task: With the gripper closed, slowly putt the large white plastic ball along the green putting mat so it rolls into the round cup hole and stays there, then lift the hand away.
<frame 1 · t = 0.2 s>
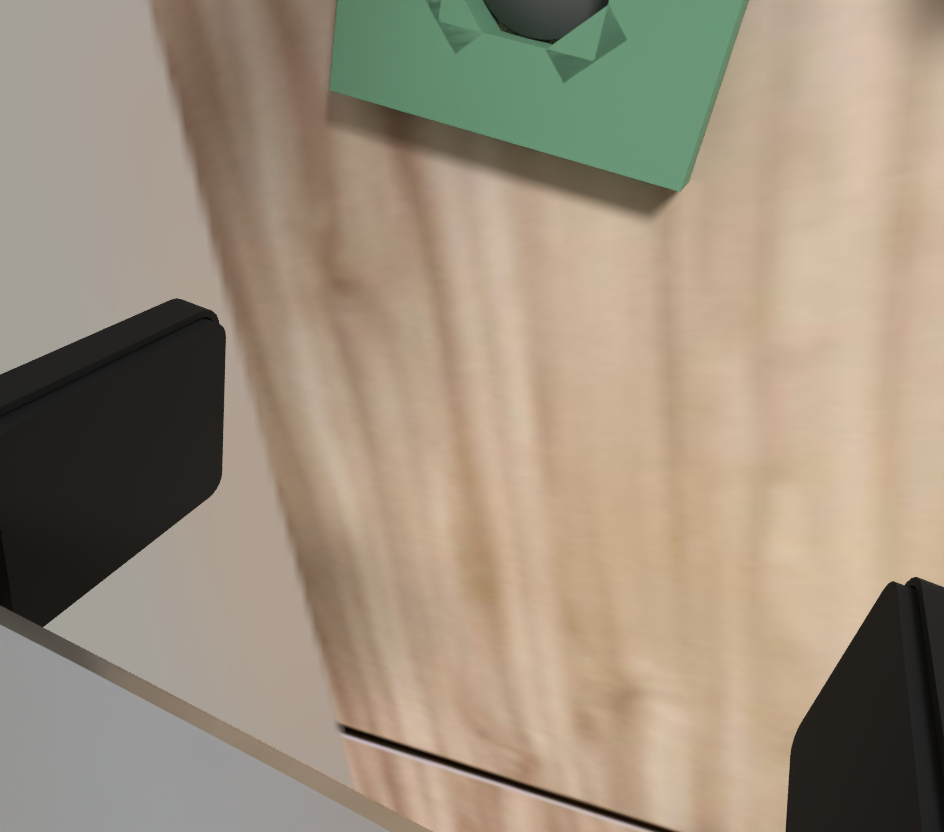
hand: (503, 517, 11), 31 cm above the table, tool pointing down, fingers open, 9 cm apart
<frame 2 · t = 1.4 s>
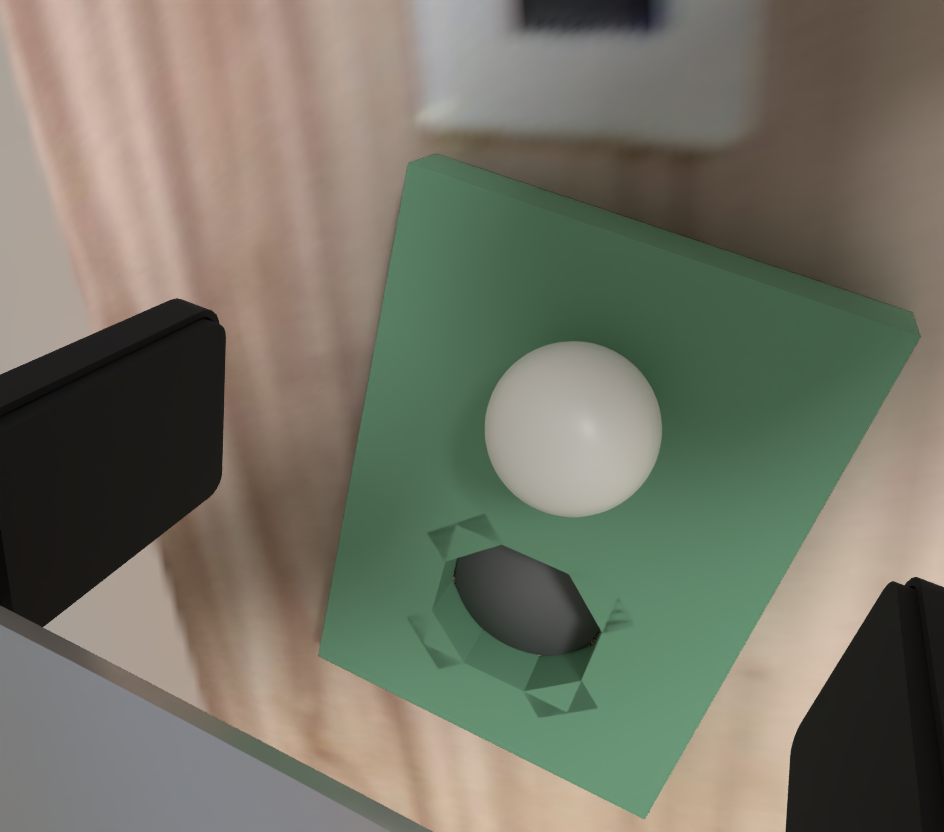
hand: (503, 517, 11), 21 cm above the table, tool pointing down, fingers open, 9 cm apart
putting mat: (559, 506, 35), on the table
ball: (572, 429, 27), point 5 cm above the table, touching putting mat
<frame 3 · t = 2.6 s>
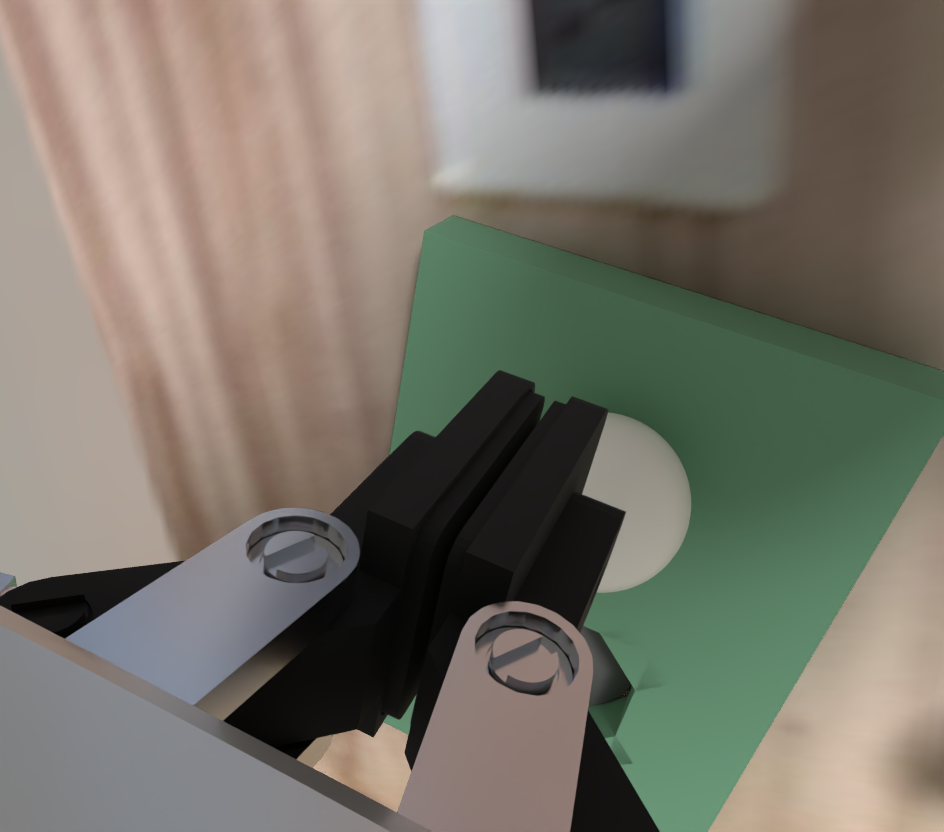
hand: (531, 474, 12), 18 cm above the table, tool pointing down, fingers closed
putting mat: (588, 561, 35), on the table
ball: (598, 501, 27), point 5 cm above the table, touching putting mat
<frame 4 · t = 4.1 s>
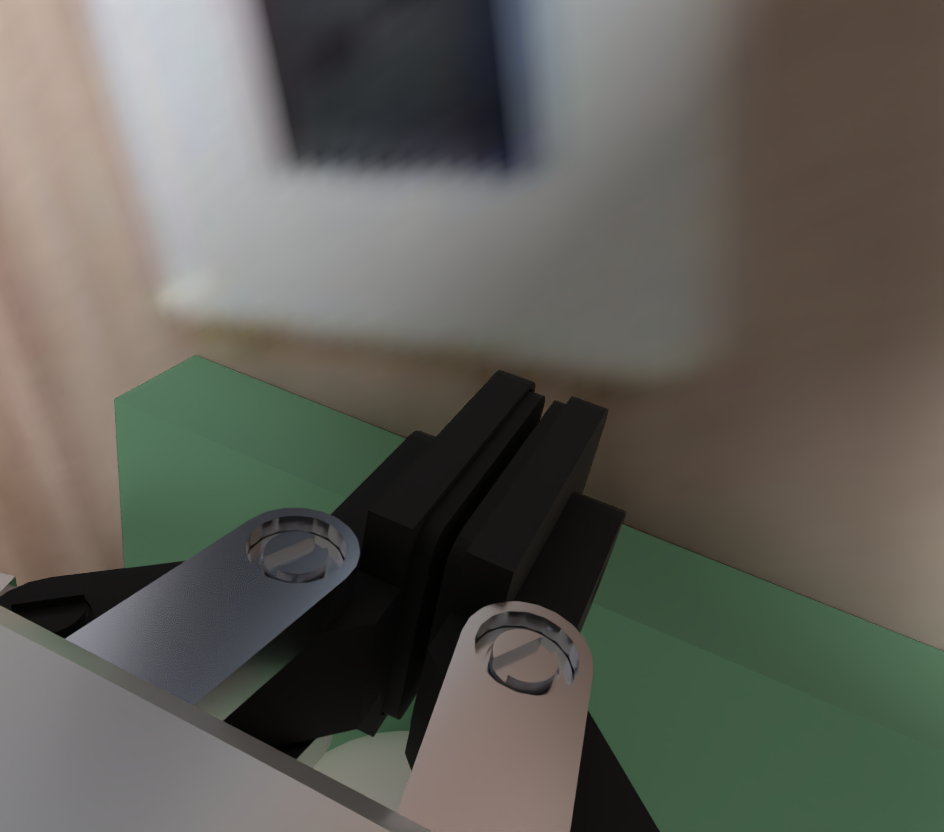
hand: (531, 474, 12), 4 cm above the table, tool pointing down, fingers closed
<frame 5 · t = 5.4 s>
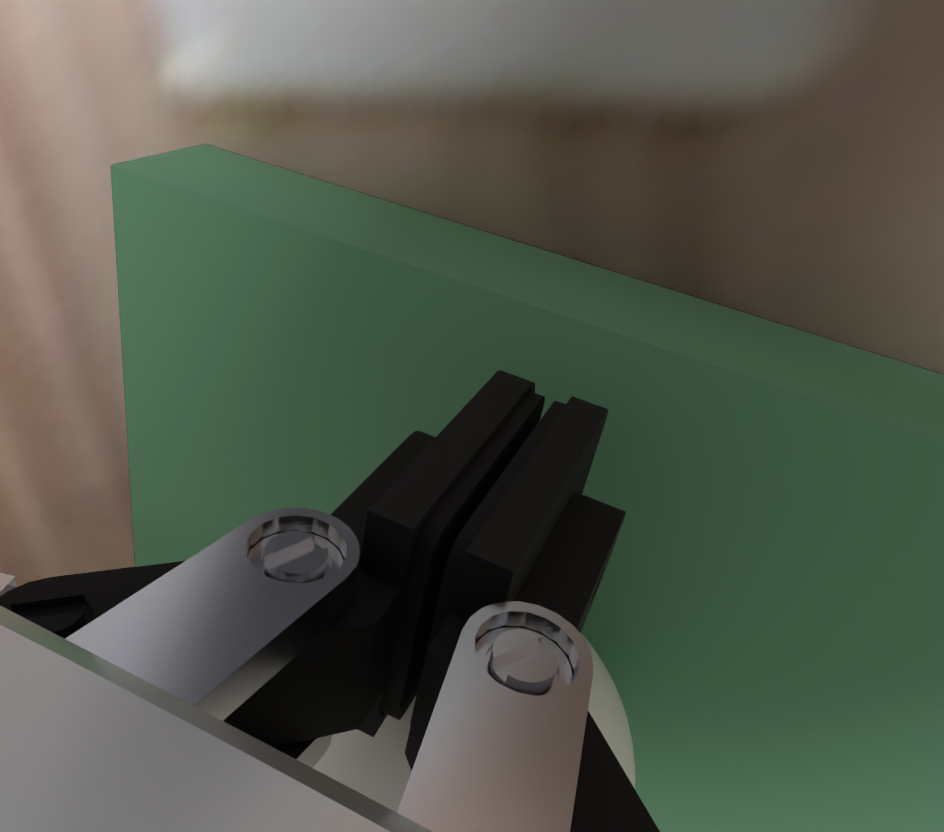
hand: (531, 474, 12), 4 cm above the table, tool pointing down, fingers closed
putting mat: (492, 745, 21), on the table
ball: (443, 762, 13), point 5 cm above the table, tilted 10°, touching putting mat
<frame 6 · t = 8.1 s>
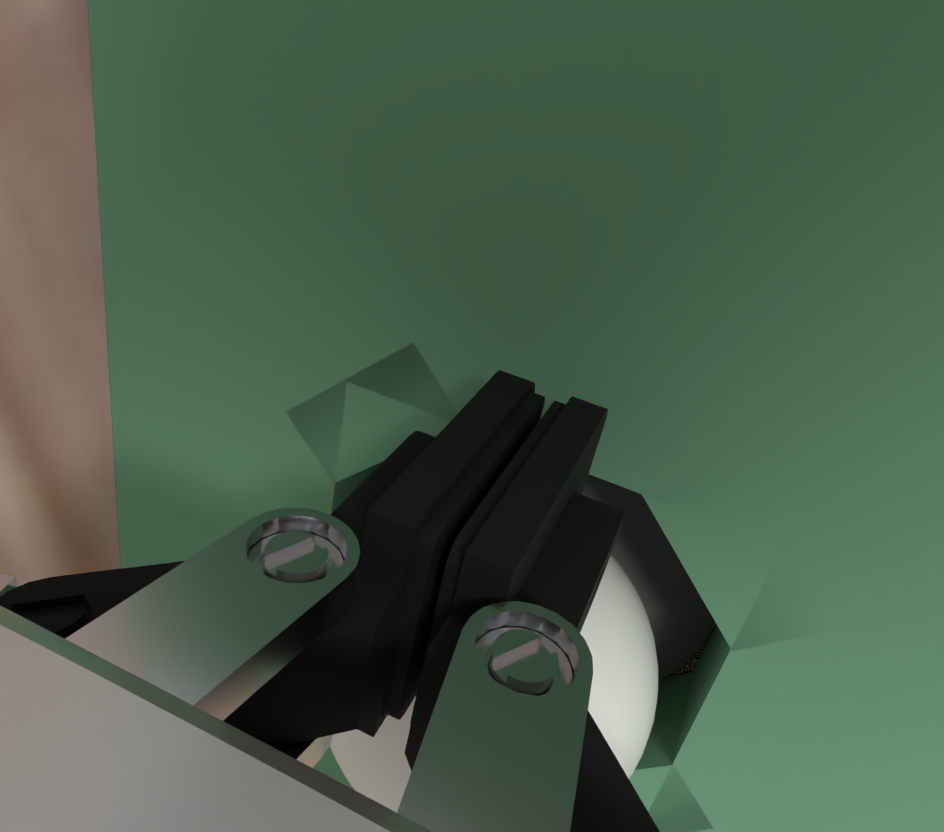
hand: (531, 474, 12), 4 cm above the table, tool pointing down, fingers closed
putting mat: (606, 337, 14), on the table
ball: (486, 666, 14), point 3 cm above the table, tilted 106°, touching gripper, putting mat
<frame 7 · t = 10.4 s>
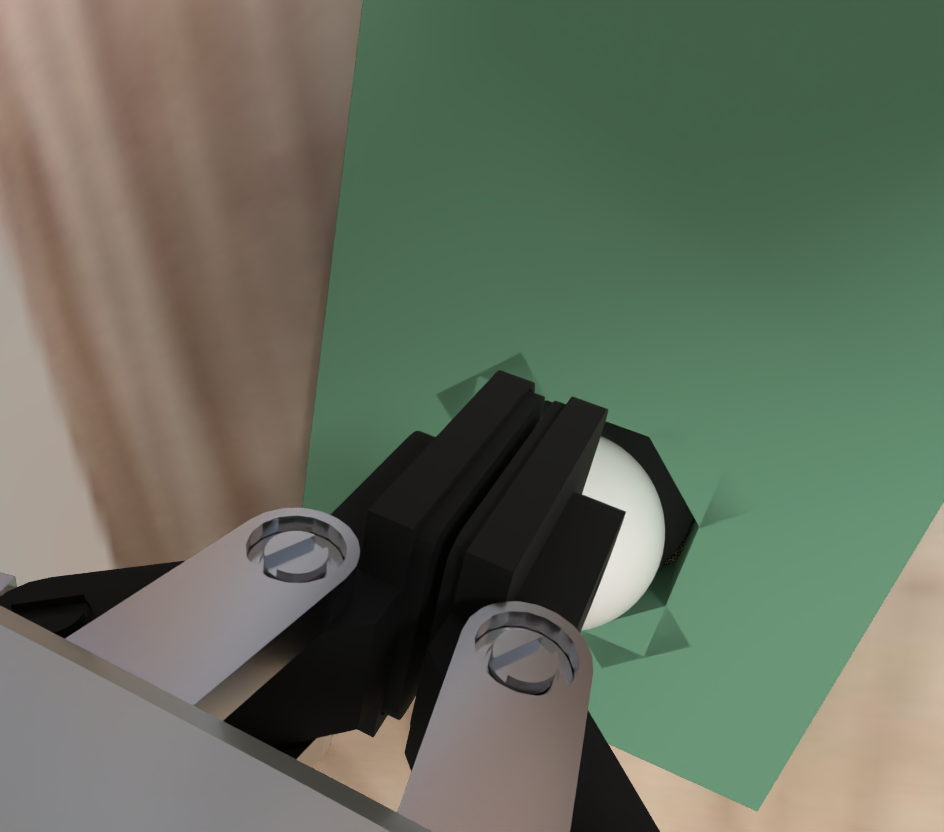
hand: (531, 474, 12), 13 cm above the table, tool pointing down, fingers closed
putting mat: (626, 351, 24), on the table
ball: (562, 528, 24), point 3 cm above the table, tilted 118°, touching putting mat
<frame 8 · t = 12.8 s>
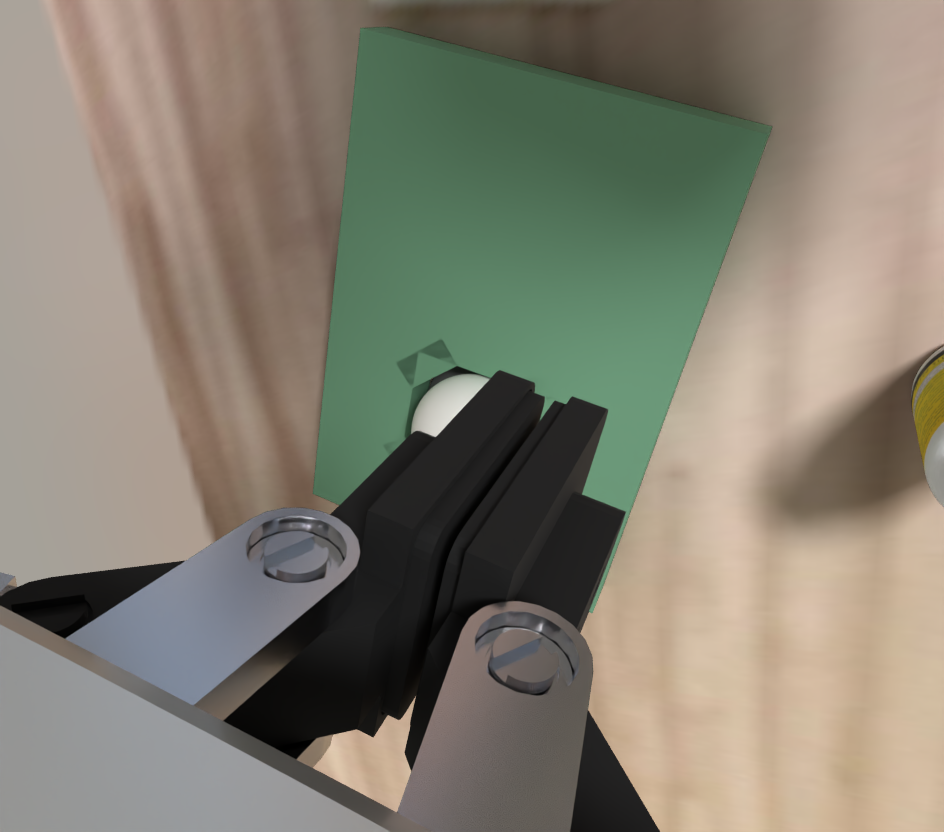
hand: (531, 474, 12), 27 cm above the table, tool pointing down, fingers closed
putting mat: (506, 337, 42), on the table
ball: (469, 432, 41), point 3 cm above the table, tilted 127°, touching putting mat
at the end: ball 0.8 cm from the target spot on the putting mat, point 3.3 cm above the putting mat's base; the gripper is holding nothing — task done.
